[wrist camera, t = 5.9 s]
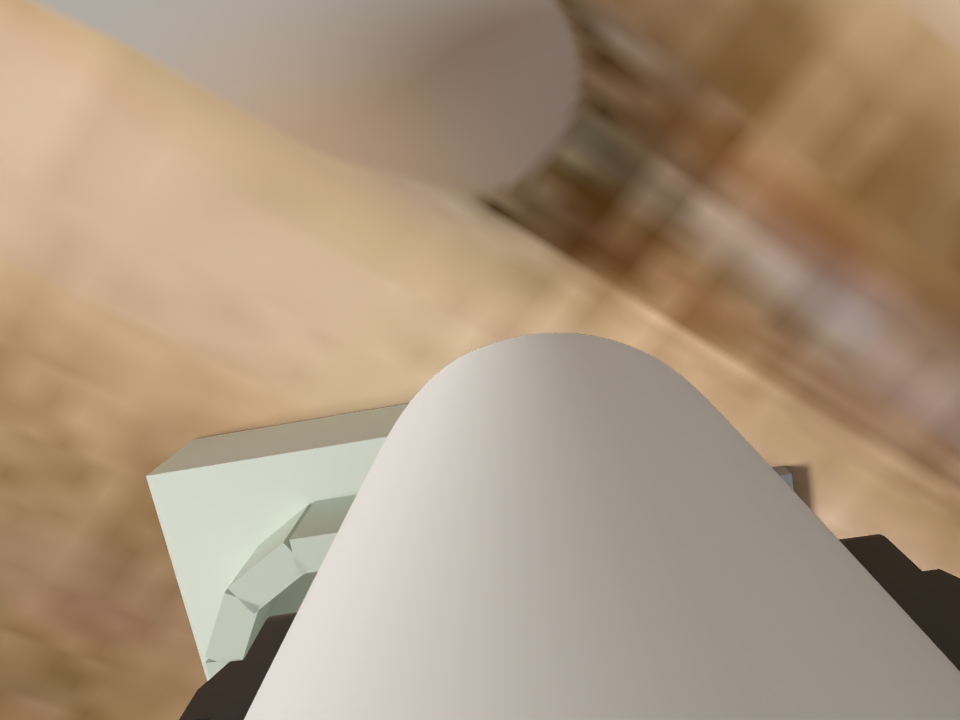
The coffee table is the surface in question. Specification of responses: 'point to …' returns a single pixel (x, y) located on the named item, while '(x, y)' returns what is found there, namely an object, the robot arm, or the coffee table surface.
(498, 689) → the can
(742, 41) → the coffee table surface
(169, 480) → the pedestal block
